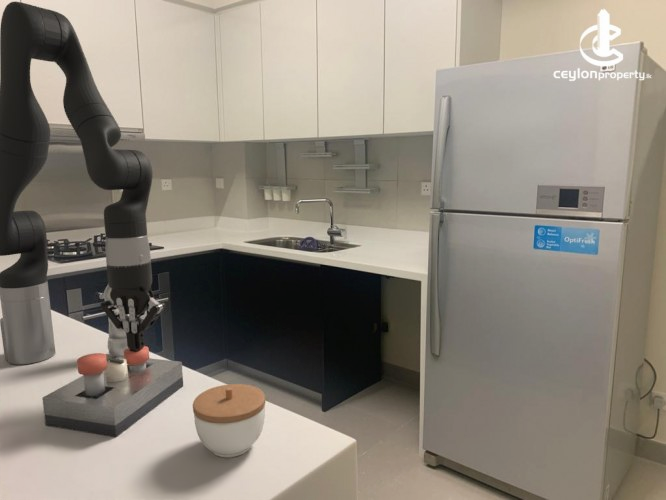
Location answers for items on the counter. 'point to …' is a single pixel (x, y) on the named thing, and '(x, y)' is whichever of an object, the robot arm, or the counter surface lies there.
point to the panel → (113, 399)
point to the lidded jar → (229, 418)
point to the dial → (116, 370)
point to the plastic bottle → (115, 334)
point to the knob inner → (137, 359)
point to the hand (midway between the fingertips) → (136, 350)
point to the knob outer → (93, 372)
